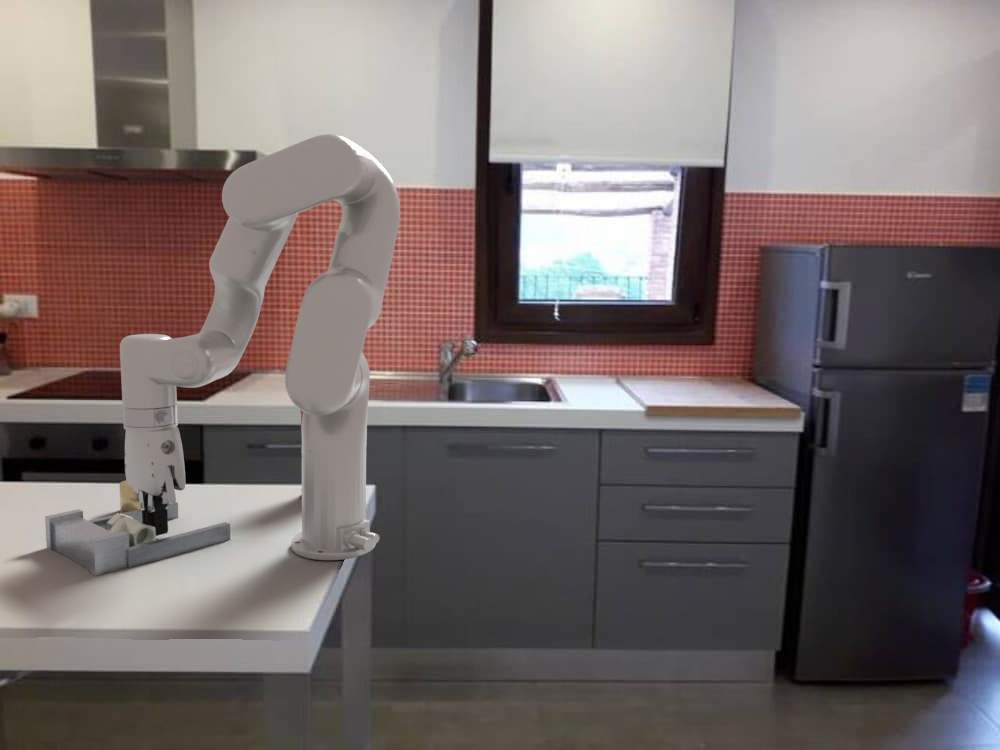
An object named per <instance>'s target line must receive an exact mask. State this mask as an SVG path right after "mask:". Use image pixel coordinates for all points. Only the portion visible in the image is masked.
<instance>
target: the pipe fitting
mask: <svg viewBox="0 0 1000 750" xmlns="http://www.w3.org/2000/svg"><path fill="white" fill-rule="evenodd" d="M113 515H114V516H113V517H112V518H111V519H110V520H109V521H108V522H107V529H108V531H110V532H112V533H118V532H122V531H125V532H127V533H129V546H130V547H132V546H136V545H140V544H144V543H147V542H151V541H155V540H157V536H156V530H155V527H153V526H151V525H147V524H143V523H141V522H139V521H136V520H134V519H133V518H132V517H130V516H127V515H123V514H120V513H119V512H117V513H115V514H113Z"/></svg>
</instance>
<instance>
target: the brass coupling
mask: <svg viewBox="0 0 1000 750" xmlns="http://www.w3.org/2000/svg"><path fill="white" fill-rule="evenodd" d="M119 502H120V504H119V505H120V513H125V512H129V511H134V510H138V509H141V507H140V500H139V495H138V493H137V492H135V491H134V489H133V487H132V486H131V485H129V484H128V482H127V480H122V481H121V482H119Z"/></svg>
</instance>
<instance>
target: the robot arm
mask: <svg viewBox="0 0 1000 750" xmlns="http://www.w3.org/2000/svg"><path fill="white" fill-rule="evenodd" d="M331 201H334V202H337V203H338V204H339V205H340V206H341V211H342V212H341V219H340V222H339V225H338V229H337V230H336V234H335V239H334V243H333V249H332V253H331V257H330V261H329V265H328V269H327V271H324V273H321V274H320V275H318V276H317V277H316V278H314V280H312V281H311V283H309V285H308V286H307V288H306V290H305V293H304V295H303V298H302V299H301V300H302V301H301V303H300V306H299V310H298V313H297V319H296V323H295V327H294V333H293V337H292V341H291V345H290V350H289V354H288V358H287V362H286V368H285V373H284V382H285V389H286V393H287V395H288V397H289V399H290V401H291V402H292V404H293V405H294V406H295V407H296V408H297V409H299V410H301V411H303V420H302V431H301V489H302V491H301V532H298V533H297V534H296V535H294V537H293V538H292V539H291V542H290V543H291V544H290V545H291V550H292V551H293V552H294V553H295V554H296V555H298V556H300V557H302V558H306V559H310V560H317V561H340V560H349V559H353V558H357V557H361V556H364V555H366V554H368V553H369V552H371V551H372V550H373V549H375V547H376V544H378V542H379V541H380V539H381V538H380V535H379V534H377V533H375V532H371V531H370V524H371V523H370V522H371V521H370V520H369V519H367V518H366V516H367V514H366V513H367V512H366V511H367V510H366V509H367V501H366V500H367V444H368V442H367V440H368V439H367V437H368V436H367V435H368V433H367V431H368V428H367V427H368V412H369V411H368V409H369V398H370V397H369V396H370V386H371V385H370V384H371V383H370V382H371V380H370V379H371V377H370V376H371V375H370V366H369V363H368V359H367V358H366V356H365V355H364V353H363V350H364V345H365V342H366V337H367V333H368V331H369V329H370V328H372V327H373V326H374V324H375V323H376V322H377V321H378V319H379V317H380V315H381V312H382V307H383V302H384V296H385V291H386V288H387V287H386V286H387V282H388V278H389V273H390V269H391V265H392V259H393V254H394V251H395V250H394V249H395V246H396V241H397V236H398V231H399V226H400V218H401V203H400V197H399V193H398V190H397V187H396V184H395V182H394V181H393V178H392V177H391V175H390V174H389V172H388V171H387V170H386V168H385V167H384V166H383V165H382V164H381V163H380V162H379V161H378V160H377V159H376V158H375V157H374V156H372V154H370V153H369V152H368V151H367V150H365V149H364V148H362V147H361V146H359V144H357V143H355V142H353V141H351V140H350V139H348V138H347V137H344V136H342V135H338V134H329V133H328V134H327V133H326V134H325V133H324V134H320V135H316V136H312V137H310V138H307V139H305V140H302V141H299V142H297V143H295V144H292V145H290V146H288V147H285V148H283V149H280V150H277V151H276V152H272V153H271V154H268V155H265V156H263V157H260V158H257V159H255V160H253V161H251V162H248V163H246V164H244V165H242V166H240V167H238V168H236V169H235V170H234V171H232V172H231V174H230V175H229V176H228V177H227V178H226V180H225V182H224V184H223V188H222V191H221V202H222V205H223V209H224V211H225V213H226V214H227V216H228V219H227V221H226V224H225V225H224V228H223V230H222V233H221V234H220V236H219V239H218V241H217V243H216V245H215V247H214V250H213V252H212V254H211V256H210V259H209V265H208V266H209V271H210V275H211V276H212V279H213V283H214V294H213V295H214V296H213V300H212V304H211V307H210V310H209V311H208V315H207V317H206V319H205V321H204V323H203V326H202V327H201V330H199V331H200V332H198V333H194V334H191V335H187V336H183V337H175V338H172V337H171V336H169V335H166V334H160V333H159V334H158V333H139V334H131V335H126V336H125V337H124V338H122V339H121V342H120V344H119V359H120V360H119V361H120V362H119V363H120V376H121V377H120V378H121V379H120V382H121V398H122V403H121V404H122V420H123V421H122V422H123V429H124V430H125V436H124V437H125V438H124V473H125V479H126V480H127V482H128V484H129V485H131V486H132V487H133V489H134V491H135V492H137V493H138V495H139V500H140V507H141V509H142V523H143V524H147V525H151V526H153V527H155V530H156V537H158V536H162V535H165V534H168V532H169V523H168V522H169V520H168V515H167V509H168V508H169V503H172V502H177V498H176V491H183V490H184V489H186V470H185V469H186V467H185V460H184V449H183V444H182V439H181V433H180V430H179V427H178V425H179V420H178V398H177V396H178V395H177V387H180V388H188V389H189V388H191V389H192V388H200V387H203V386H205V385H208V384H210V383H213V382H214V381H217V380H220V379H222V378H224V377H226V376H229V374H231V373H232V372H233V370H235V368H236V367H237V366H238V364H239V362H240V360H241V359H242V357H243V354H244V352H245V350H246V348H247V346H248V344H249V342H250V340H251V338H252V335H253V334H254V331H255V329H256V325H257V323H258V319H259V316H260V312H261V309H262V305H263V301H264V299H265V298H264V297H265V289H266V287H267V283H268V281H269V279H270V277H271V274H272V273H273V270H274V268H275V265H276V264H277V262H278V259H279V257H280V254H281V252H282V251H283V249H284V246H285V244H286V242H287V240H288V237H289V235H290V234H291V231H292V229H293V226H294V225H295V222H296V220H297V219H298V215H299V214H300V213H302V212H305V211H308V210H310V209H313V208H315V207H317V206H320V205H322V204H325V203H328V202H331ZM175 490H176V491H175ZM143 509H145V510H143Z"/></svg>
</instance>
